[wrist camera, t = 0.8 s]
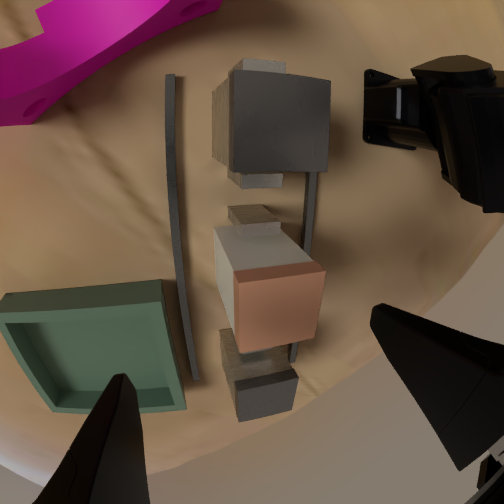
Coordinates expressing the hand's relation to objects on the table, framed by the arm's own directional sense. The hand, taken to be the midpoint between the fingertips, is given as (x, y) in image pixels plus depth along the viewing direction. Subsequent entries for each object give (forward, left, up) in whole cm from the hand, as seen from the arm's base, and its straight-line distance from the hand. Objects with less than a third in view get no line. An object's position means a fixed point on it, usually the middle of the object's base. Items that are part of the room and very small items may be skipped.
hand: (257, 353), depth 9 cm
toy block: (+7, -15, -13) cm, 21 cm away
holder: (-3, +2, -13) cm, 13 cm away
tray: (+11, +10, -13) cm, 20 cm away
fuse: (-3, +2, -13) cm, 13 cm away
